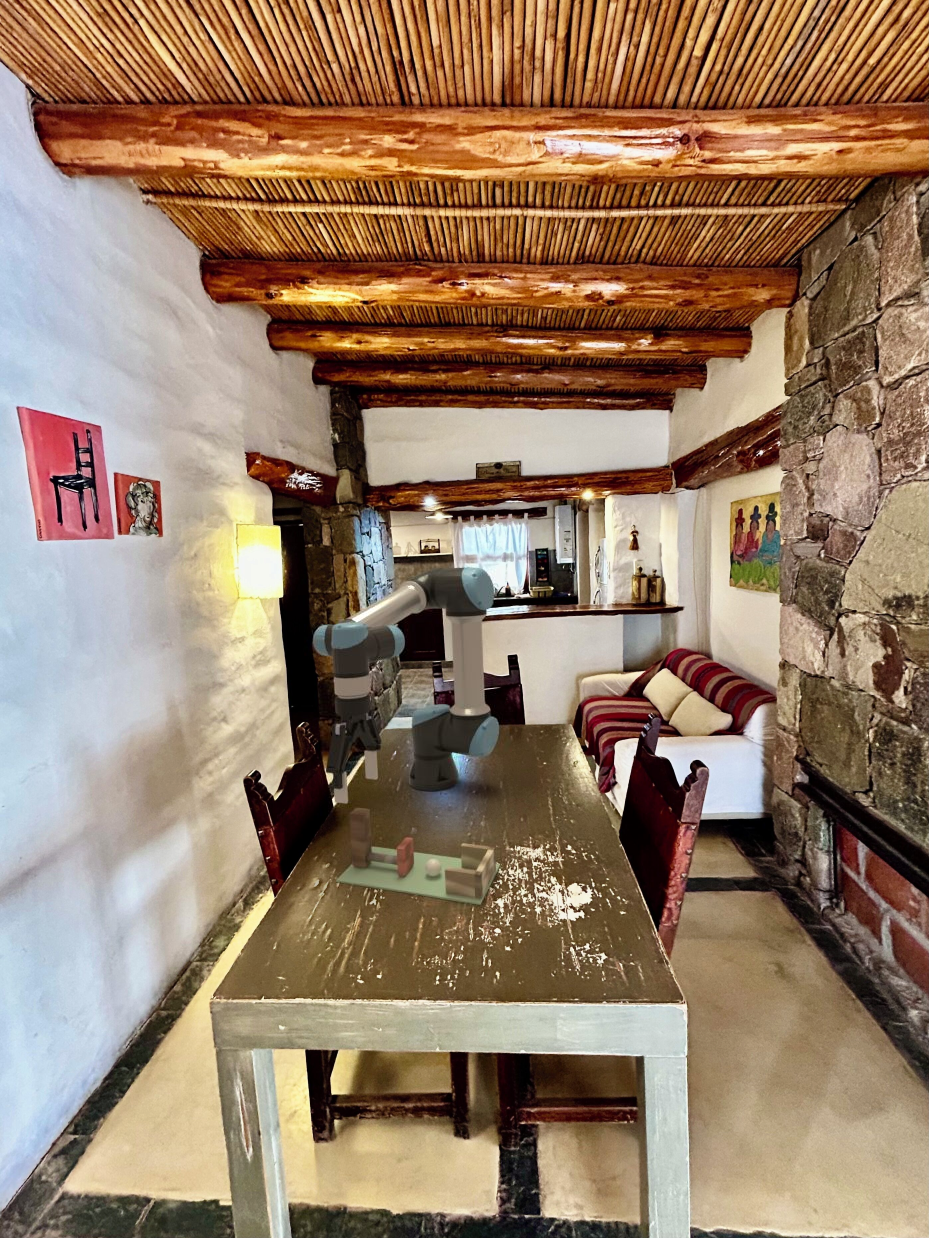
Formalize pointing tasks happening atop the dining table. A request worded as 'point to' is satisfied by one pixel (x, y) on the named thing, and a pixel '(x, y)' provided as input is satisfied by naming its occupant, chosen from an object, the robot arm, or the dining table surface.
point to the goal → (471, 871)
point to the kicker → (364, 849)
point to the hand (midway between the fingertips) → (357, 789)
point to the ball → (433, 867)
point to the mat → (409, 877)
